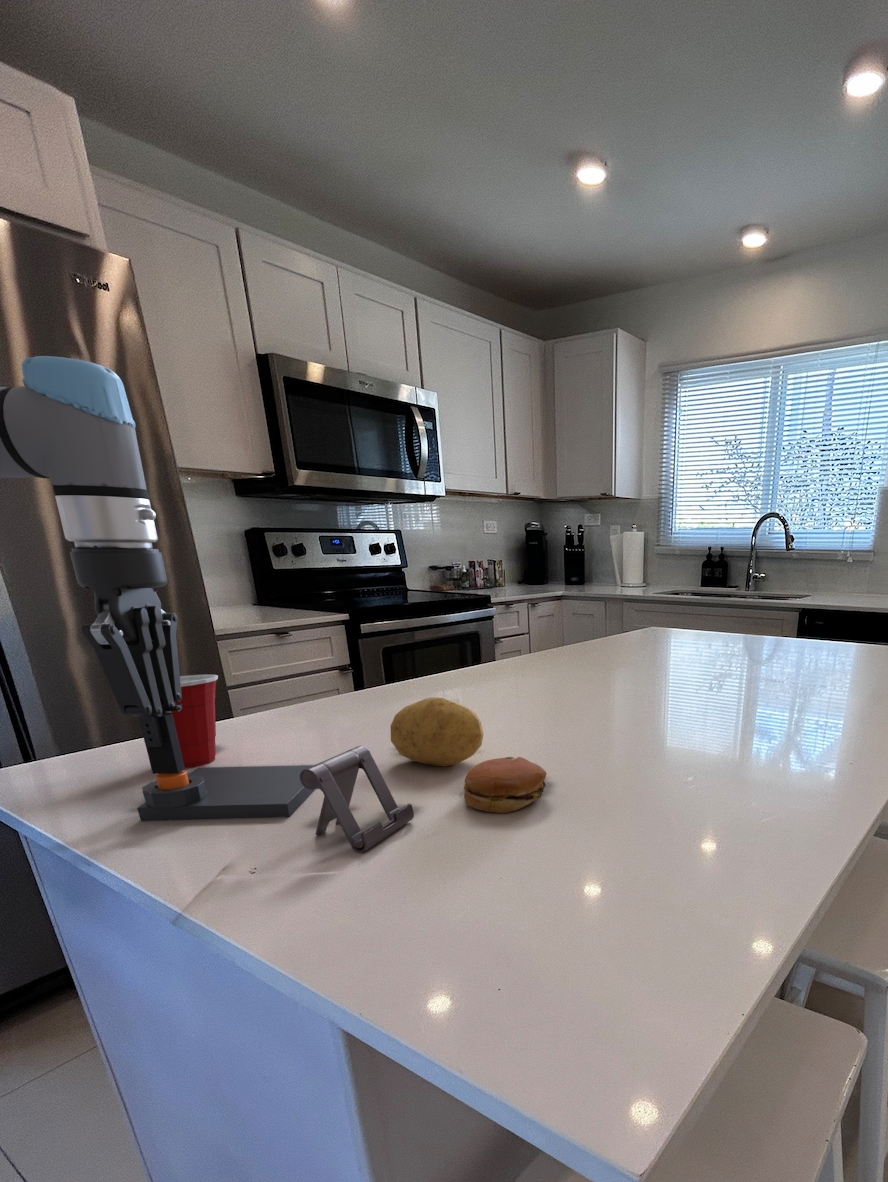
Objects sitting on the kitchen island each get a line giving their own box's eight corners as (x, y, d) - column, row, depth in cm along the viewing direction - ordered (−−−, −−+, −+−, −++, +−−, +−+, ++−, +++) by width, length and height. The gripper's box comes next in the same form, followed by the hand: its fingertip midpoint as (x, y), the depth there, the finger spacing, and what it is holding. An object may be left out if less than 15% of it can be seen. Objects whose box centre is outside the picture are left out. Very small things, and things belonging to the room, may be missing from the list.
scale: (138, 823, 72) (130, 793, 71) (201, 779, 86) (195, 754, 84) (288, 819, 74) (283, 790, 72) (327, 777, 87) (323, 751, 86)
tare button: (153, 793, 73) (149, 778, 72) (167, 784, 76) (164, 769, 75) (181, 792, 73) (178, 777, 72) (194, 783, 76) (191, 769, 75)
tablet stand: (366, 855, 65) (355, 775, 62) (300, 845, 67) (286, 767, 64) (414, 822, 73) (407, 750, 70) (354, 814, 75) (344, 743, 72)
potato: (414, 688, 96) (374, 694, 87) (496, 699, 92) (463, 707, 84) (414, 751, 99) (375, 764, 90) (494, 765, 95) (462, 779, 86)
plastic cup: (212, 746, 100) (195, 667, 96) (249, 759, 94) (232, 675, 90) (132, 764, 92) (109, 678, 87) (167, 779, 86) (144, 688, 81)
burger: (465, 816, 74) (462, 777, 73) (465, 789, 83) (463, 753, 81) (551, 811, 76) (550, 773, 74) (543, 785, 85) (542, 750, 83)
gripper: (115, 546, 59) (173, 791, 68) (187, 546, 71) (229, 753, 80) (26, 545, 59) (96, 792, 67) (114, 545, 71) (164, 754, 79)
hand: (168, 771), depth 73 cm, fingers closed
